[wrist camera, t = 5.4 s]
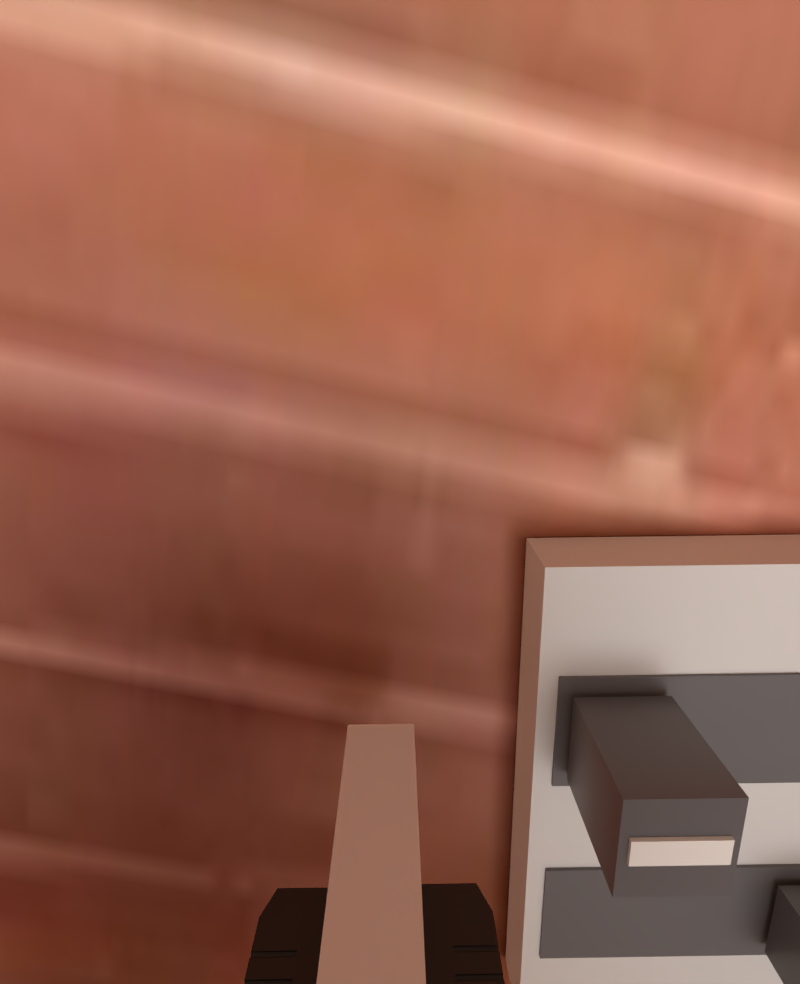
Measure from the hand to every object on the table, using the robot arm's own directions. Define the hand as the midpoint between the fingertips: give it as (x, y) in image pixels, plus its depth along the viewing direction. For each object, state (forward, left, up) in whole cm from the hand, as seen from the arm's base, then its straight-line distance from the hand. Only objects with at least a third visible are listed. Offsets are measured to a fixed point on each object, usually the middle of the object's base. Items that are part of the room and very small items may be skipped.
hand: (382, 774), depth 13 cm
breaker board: (+11, -3, -3) cm, 12 cm away
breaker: (+6, 0, -1) cm, 6 cm away
